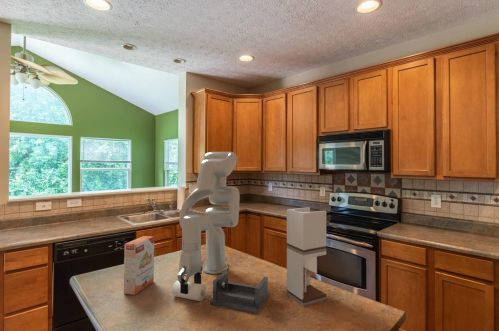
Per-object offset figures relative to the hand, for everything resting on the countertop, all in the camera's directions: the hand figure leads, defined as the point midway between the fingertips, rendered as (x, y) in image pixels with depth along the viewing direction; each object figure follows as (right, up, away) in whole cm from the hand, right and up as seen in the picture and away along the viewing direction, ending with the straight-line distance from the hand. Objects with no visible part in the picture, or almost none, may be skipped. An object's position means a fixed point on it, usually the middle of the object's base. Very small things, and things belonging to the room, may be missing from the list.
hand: (191, 288), depth 111 cm
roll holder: (+20, -3, -3) cm, 21 cm away
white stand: (+47, -3, -1) cm, 47 cm away
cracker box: (-24, -3, +8) cm, 25 cm away
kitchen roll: (0, 0, -1) cm, 1 cm away
